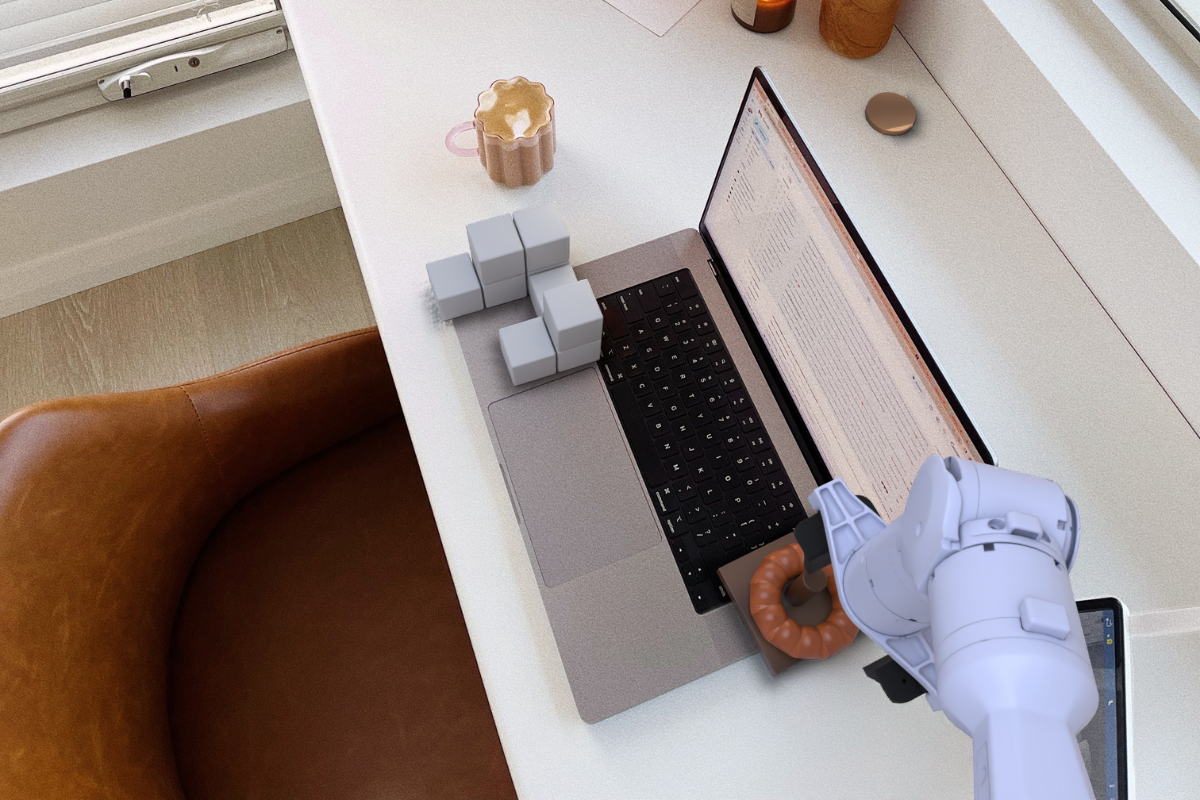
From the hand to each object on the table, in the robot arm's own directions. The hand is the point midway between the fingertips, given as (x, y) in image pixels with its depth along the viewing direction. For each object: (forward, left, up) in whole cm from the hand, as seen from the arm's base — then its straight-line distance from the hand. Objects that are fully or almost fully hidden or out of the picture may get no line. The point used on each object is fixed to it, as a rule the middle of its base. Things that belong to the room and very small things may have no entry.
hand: (847, 614), depth 63 cm
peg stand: (+3, 0, -9) cm, 10 cm away
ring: (+2, 0, -7) cm, 7 cm away
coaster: (+41, -34, -9) cm, 54 cm away
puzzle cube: (+35, +10, -10) cm, 38 cm away
